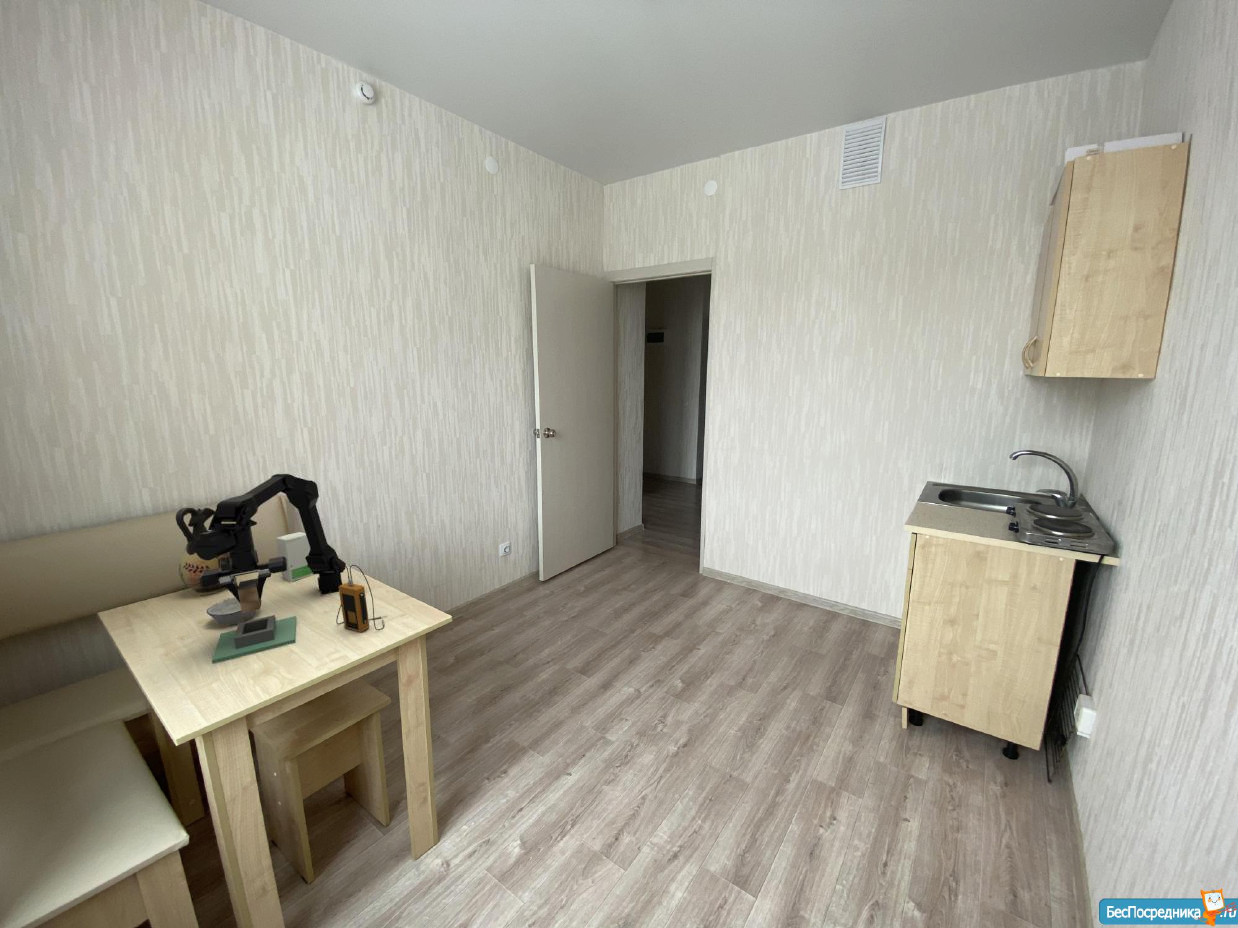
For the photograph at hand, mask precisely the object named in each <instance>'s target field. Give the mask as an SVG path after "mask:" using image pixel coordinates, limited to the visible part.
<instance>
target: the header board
mask: <svg viewBox="0 0 1238 928" xmlns="http://www.w3.org/2000/svg"><path fill="white" fill-rule="evenodd" d="M296 632H297V616H296V615H294V616H290V617H285V618H281V619H277V620H276V615H275V614H272V615H269V616H265V617H260V618H256V619H251V620H245V621H243V622H240V623H237V627H236V629H234V630H229V631H225V632H220V635H219V637H218V640H217V643H216V647H215V650H214V652H213V656H212V658H211V664H212V665H213V664H217V663H221V662H226V661H229V660H233V659H237V658H240V657H244V656H248V655H253V654H256V653H260V652H264V651H269V650H271V649H276V648H281V647H283V646H287V645H290V644H291V645H292V644H296V640H297V639H296V636H297V633H296Z"/></svg>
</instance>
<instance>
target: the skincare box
mask: <svg viewBox="0 0 1238 928" xmlns="http://www.w3.org/2000/svg"><path fill="white" fill-rule="evenodd" d="M276 542H277V550H278V557H282V556H284V557H285V558H286V559H287V570H286V571H284V572H281V576H282V577H281V578H282V579H283V580H285V581H288V582H290V583H292V582H294V581H295V582H296V581H298V580H301V579H304V578H307V577H310V576H314V575H315V574H313V573H312V571H311V569H310V568H309V567H307V561H306V559H305V557H306V556H307V555H308V554H309V551H310V546H309V543H308V540H307V536H306V533H305V532H301V531H297V532H295V533H293V532H292V533H289V534H286V535H282V536H277V537H276Z"/></svg>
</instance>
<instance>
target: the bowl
mask: <svg viewBox="0 0 1238 928" xmlns="http://www.w3.org/2000/svg"><path fill="white" fill-rule="evenodd" d="M254 613H255V611H250V612H246V613H242V610H241V605H240V603H239V602H238V600H237V599H236V598H235V597H228V598H226V599H224V598H223V600H222V601H219V602H216V603H214V604H212V605H211V606H209V608H207V609H206V614H207V615H209V616H210V617H211V618H212V619H213V620H215V621H216V622H217V623H219V624H220V625H222V626H230V625H231V626H232V625H237V624H238V623H241V622H246V621H248V620H249V619H250V618H251V617H253V615H254Z"/></svg>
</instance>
